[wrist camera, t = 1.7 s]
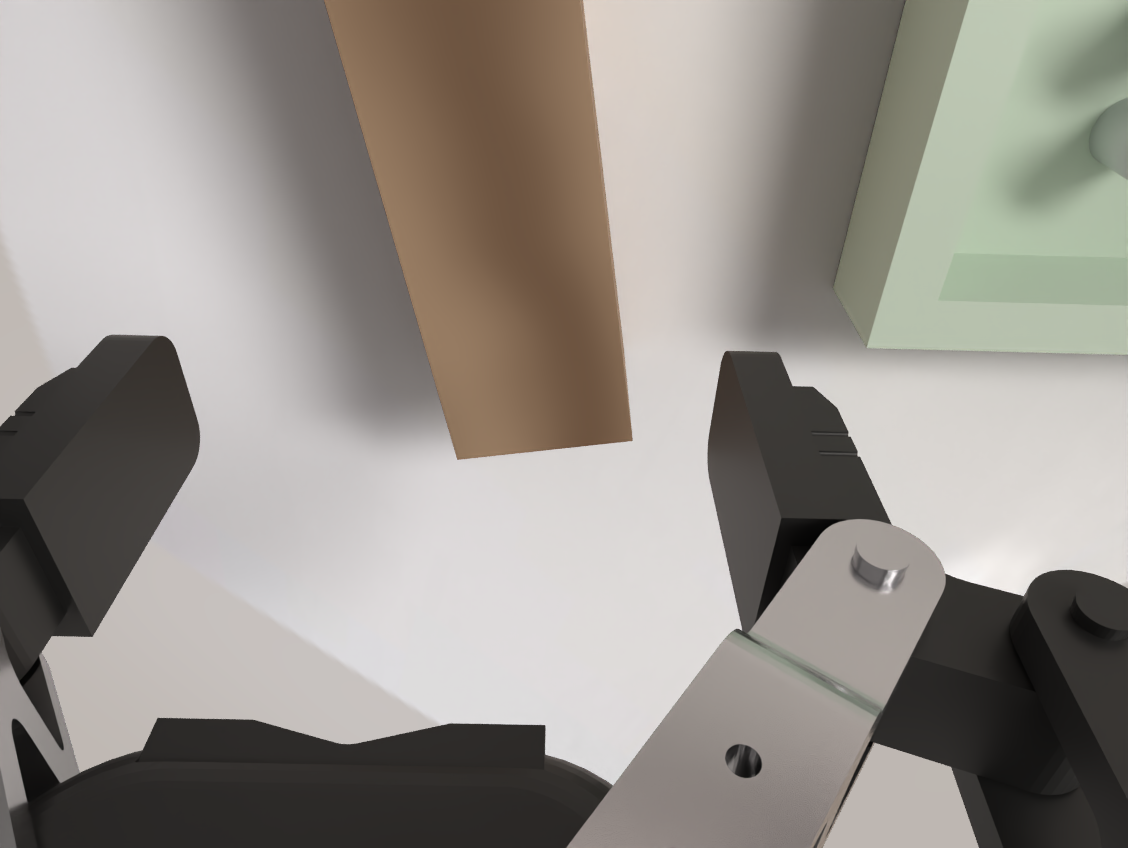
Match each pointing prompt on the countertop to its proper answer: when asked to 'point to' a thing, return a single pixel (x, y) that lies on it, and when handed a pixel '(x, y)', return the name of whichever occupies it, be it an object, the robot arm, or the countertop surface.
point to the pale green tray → (996, 183)
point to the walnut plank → (495, 211)
